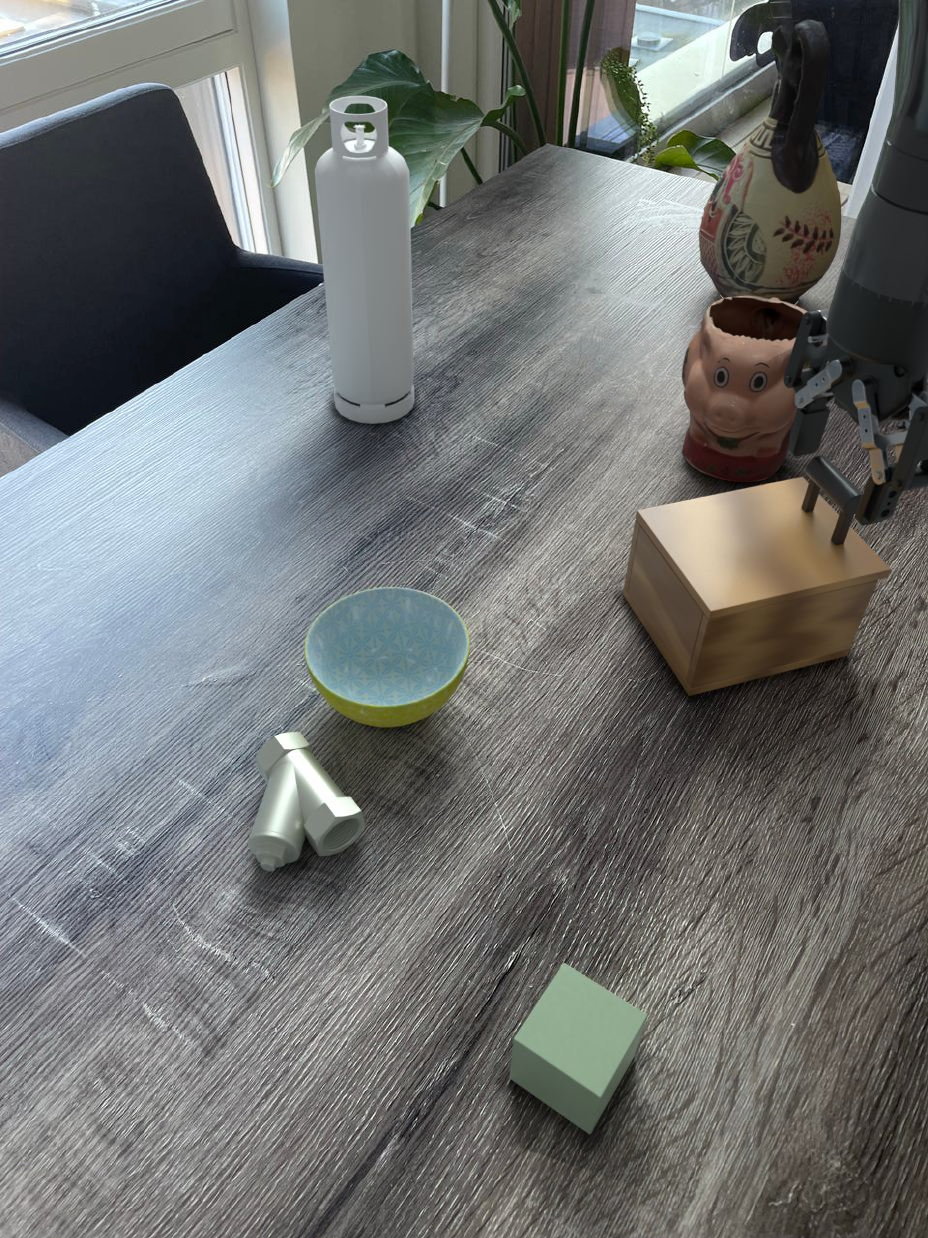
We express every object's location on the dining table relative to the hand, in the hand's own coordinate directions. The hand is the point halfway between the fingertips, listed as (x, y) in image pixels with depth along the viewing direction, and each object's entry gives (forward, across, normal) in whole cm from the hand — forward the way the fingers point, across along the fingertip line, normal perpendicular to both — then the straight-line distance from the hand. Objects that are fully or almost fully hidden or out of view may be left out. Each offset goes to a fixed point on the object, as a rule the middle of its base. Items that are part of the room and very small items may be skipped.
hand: (834, 484), depth 72 cm
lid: (+4, 0, +5) cm, 7 cm away
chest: (+12, 0, +6) cm, 13 cm away
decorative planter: (+13, +22, -7) cm, 26 cm away
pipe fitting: (+12, -8, +42) cm, 45 cm away
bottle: (+13, +40, +24) cm, 48 cm away
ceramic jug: (+13, +47, -24) cm, 54 cm away
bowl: (+12, 0, +33) cm, 36 cm away
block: (+12, -28, +31) cm, 43 cm away
